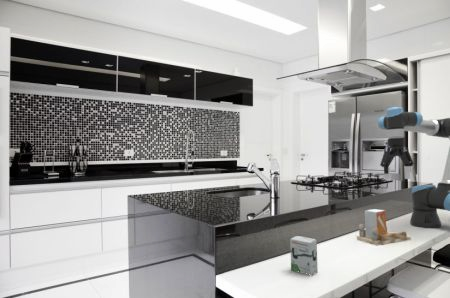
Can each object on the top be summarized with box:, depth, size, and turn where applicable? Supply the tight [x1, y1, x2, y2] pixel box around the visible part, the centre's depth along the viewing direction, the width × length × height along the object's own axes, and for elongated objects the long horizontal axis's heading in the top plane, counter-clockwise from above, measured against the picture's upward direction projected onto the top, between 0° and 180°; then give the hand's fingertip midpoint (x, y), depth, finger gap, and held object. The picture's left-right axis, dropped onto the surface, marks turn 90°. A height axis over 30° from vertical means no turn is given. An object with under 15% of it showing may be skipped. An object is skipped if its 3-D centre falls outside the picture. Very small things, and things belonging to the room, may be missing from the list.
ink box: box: [289, 235, 319, 276], centre depth 113 cm, size 9×5×12 cm, turn 45°
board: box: [356, 223, 412, 246], centre depth 152 cm, size 22×12×8 cm, turn 111°
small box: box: [364, 208, 388, 239], centre depth 150 cm, size 8×6×13 cm
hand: (397, 179), depth 156 cm, fingers open, 13 cm apart
